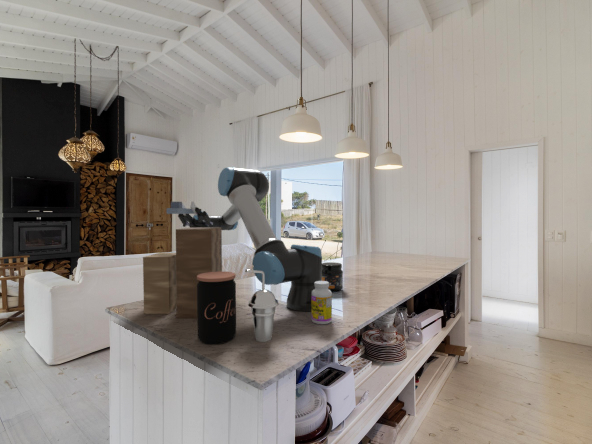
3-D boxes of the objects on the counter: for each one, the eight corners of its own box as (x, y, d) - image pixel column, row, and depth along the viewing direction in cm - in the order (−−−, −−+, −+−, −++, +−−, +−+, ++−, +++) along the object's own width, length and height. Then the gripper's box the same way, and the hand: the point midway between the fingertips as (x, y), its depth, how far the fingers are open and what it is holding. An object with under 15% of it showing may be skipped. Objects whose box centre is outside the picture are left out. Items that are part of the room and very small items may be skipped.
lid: (187, 213, 135) (187, 203, 135) (196, 213, 135) (196, 203, 135) (166, 213, 115) (166, 201, 115) (177, 213, 115) (177, 201, 115)
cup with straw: (279, 344, 87) (278, 270, 86) (245, 345, 86) (244, 270, 86) (278, 332, 95) (277, 265, 95) (247, 333, 95) (246, 265, 94)
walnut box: (190, 305, 123) (189, 227, 123) (222, 305, 123) (222, 227, 122) (176, 317, 109) (174, 229, 108) (212, 318, 109) (211, 229, 108)
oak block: (160, 302, 127) (159, 252, 127) (183, 303, 127) (182, 252, 127) (143, 313, 114) (143, 257, 113) (169, 313, 114) (168, 257, 113)
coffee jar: (201, 348, 84) (200, 280, 84) (194, 334, 94) (193, 273, 93) (241, 340, 89) (240, 276, 89) (230, 328, 99) (229, 270, 98)
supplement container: (315, 290, 147) (315, 264, 147) (327, 286, 156) (327, 261, 156) (336, 293, 141) (336, 266, 141) (346, 289, 150) (346, 263, 150)
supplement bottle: (307, 321, 105) (307, 282, 105) (319, 316, 110) (319, 279, 110) (323, 326, 100) (323, 285, 100) (335, 321, 105) (335, 282, 105)
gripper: (219, 238, 147) (205, 212, 126) (182, 238, 147) (162, 212, 127) (221, 223, 150) (208, 196, 130) (185, 223, 151) (166, 196, 130)
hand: (185, 204), depth 128 cm, fingers closed on lid, 4 cm apart
